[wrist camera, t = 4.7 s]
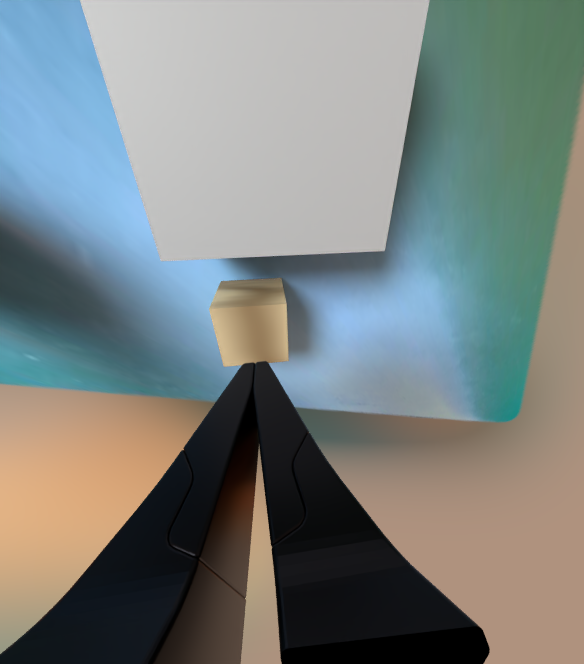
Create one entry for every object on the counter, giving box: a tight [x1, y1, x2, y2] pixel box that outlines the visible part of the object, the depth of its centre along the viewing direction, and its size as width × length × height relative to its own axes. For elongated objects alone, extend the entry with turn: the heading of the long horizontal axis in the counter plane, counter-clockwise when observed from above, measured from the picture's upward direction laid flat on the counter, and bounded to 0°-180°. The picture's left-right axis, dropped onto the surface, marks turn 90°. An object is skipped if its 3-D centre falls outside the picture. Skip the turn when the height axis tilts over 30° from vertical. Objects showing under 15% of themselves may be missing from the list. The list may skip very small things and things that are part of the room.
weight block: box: [209, 278, 289, 367], centre depth 18 cm, size 5×5×5 cm
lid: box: [80, 0, 429, 261], centre depth 9 cm, size 12×11×1 cm
